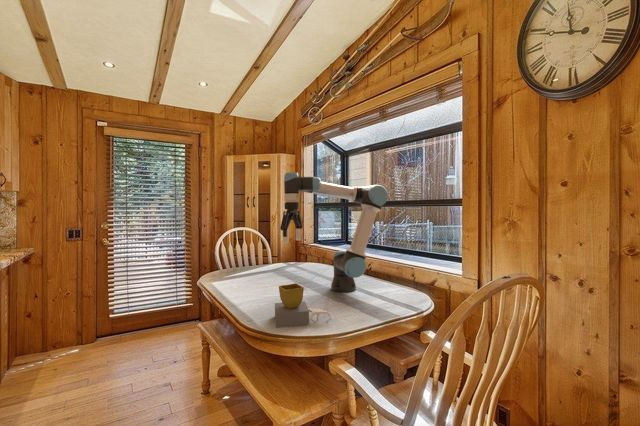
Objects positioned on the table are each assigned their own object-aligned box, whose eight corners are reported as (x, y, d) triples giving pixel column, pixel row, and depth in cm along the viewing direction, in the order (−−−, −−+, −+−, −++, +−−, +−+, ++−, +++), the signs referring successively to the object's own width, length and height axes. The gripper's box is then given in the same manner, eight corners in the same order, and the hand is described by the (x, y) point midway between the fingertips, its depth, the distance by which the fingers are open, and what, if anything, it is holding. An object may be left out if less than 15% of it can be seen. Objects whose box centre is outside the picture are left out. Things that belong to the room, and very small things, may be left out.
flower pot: (285, 311, 132) (285, 290, 132) (278, 305, 139) (278, 285, 139) (304, 307, 136) (304, 287, 136) (296, 302, 144) (296, 283, 143)
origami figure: (302, 324, 133) (302, 313, 132) (307, 317, 141) (307, 307, 141) (330, 326, 130) (330, 314, 130) (333, 319, 138) (333, 308, 138)
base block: (305, 314, 146) (305, 301, 145) (309, 325, 132) (308, 311, 132) (274, 316, 143) (274, 303, 143) (275, 327, 129) (275, 313, 129)
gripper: (296, 202, 178) (297, 239, 179) (272, 201, 156) (273, 244, 156) (308, 201, 175) (308, 239, 176) (286, 201, 153) (286, 244, 153)
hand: (292, 241), depth 166 cm, fingers open, 13 cm apart
